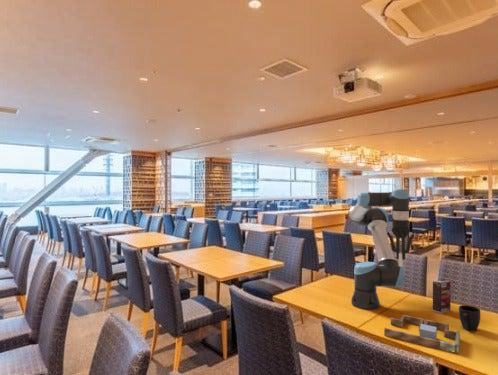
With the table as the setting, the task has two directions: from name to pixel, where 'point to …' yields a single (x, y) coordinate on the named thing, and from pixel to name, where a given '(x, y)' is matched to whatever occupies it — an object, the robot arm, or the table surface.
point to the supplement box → (441, 296)
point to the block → (428, 331)
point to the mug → (469, 317)
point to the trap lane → (424, 340)
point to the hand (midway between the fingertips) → (400, 265)
